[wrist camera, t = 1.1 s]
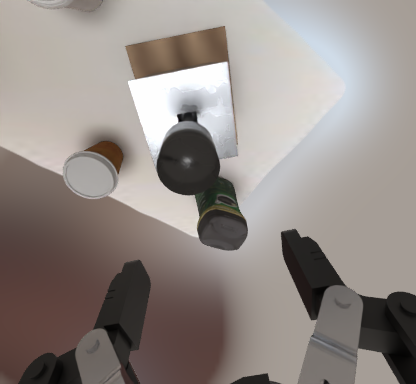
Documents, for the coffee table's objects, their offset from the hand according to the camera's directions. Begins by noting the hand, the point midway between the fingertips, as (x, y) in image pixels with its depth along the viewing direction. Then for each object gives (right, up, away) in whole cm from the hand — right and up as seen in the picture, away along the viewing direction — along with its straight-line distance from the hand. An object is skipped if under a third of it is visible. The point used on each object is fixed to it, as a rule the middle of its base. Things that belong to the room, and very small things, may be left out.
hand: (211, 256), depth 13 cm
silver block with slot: (-4, +21, +34) cm, 40 cm away
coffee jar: (+1, +4, +45) cm, 46 cm away
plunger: (-3, +15, +22) cm, 27 cm away
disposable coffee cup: (-23, +12, +39) cm, 46 cm away
